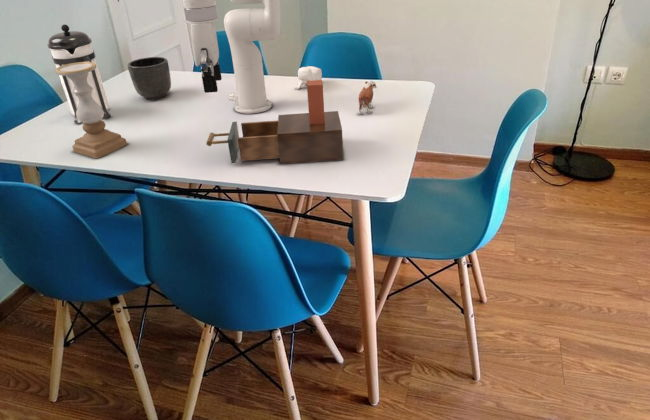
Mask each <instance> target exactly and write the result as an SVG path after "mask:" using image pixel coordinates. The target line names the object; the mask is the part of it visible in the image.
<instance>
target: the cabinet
mask: <svg viewBox="0 0 650 420" xmlns="http://www.w3.org/2000/svg"><path fill="white" fill-rule="evenodd" d="M324 117H325V124H312V125H310V122H309V112H304V113H287V114H286V113H285V114H278V117H277V121H278V130H277V137H278V146H279V155H280V158H279V164H280V165H290V164H305V163H316V162H318V163H319V162H320V163H321V162H334V161H344V149H343V148H344V147H343V146H344V145H343V142H344V141H343V127H342V123H341V118H340V114H339V111H338V110H332V111H331V110H330V111H324Z"/></svg>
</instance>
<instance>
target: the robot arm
mask: <svg viewBox="0 0 650 420" xmlns="http://www.w3.org/2000/svg"><path fill="white" fill-rule="evenodd" d="M181 1H182V5H183V12H184V16H185V22H186V24H189V25H190V36H191V46H192V51H193V59H194V65H195V66H196V67H197V68H200V70H201V71H200V72H201V81H202V86H203V92H204V93H205V94H206V93H207V94H209V93H217V92H218V90H219V89H218V82H217V81H222V79H223V78H222V72H221V71H222V70H221V66H220V63H219V58H220V49H219V42H218V36H217V29H216V24H215V23H216V22H217V21H219V13H218V7H217V0H181ZM229 1H230V2H231V3H233V4H235V5H236V4H237V5H252V4H253V5H254V4H255V5H256V4H263V5H264V7H254V8H253V7H249V8H248V7H246V8H244V7H243V8H235V9H230V10H229V11H228V12H226V13H225V15H224V18H223V26H224V30H225V31H224V32H225V34H226V38H227V41H228V44H229V48H230V53H231V59H232V61H231V62H232V67H233V73H234V81H235V86H236V93H233V92H231V93H229V95H228V100H229V102H235V104H234V111H235V112H238V113H240V114H245V115H246V114H247V115H249V114H259V113H264V112H266V111H268V110H270V109H271V108H272V107H273V106H272V105H273V104H272V101H271V99H268V98H267V92H266V82H265V73H264V65H263V56H262V53H261V50H260V48H259V47H258V46H257V45H256V44H255V43H254V42H262V41H265V42H266V41H275V40H277V39H279V38H280V36H281V31H282V22H281V21H282V19H281V4H280V3H281V2H280V0H229Z"/></svg>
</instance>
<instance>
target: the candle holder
mask: <svg viewBox="0 0 650 420" xmlns="http://www.w3.org/2000/svg"><path fill="white" fill-rule="evenodd" d="M95 68H96V64H95V63H93V62H77V63H71V64H66V65H63V66H60V67H58V68H55V71H54V72H55V74H56V75H58V76H59V75H62V76H67V77H68V78H69V79H70V80H72V82H73V83H74V89H73V93H74V94H75V95H76V96H77V97H78V98H79V104H78V107H77V111H76V117H77V119H78V120H79V121H81V123H83V125H82V130H83V132H85V133H84V134H83V135H82V136H81V137H79V138H77V139H75V140H74V144H72V149H73V152H74V153H77V154H79V155H83V156H86V157H90V158H93V159H100V158H101V157H104V156H106V155H108V154H111V153H113V152H115V151H117V150H119V149H122V148H123V147H125V146H127V145H128V141H127V139H126V138H124V137H123V136H122V135H121V134H119V133H118V132H114V131H111V130H110V129H106V123H105V121H103V120H102V119H103V118H104V111H103V109H102V107H101V106H100V105H98V104H97V103H96V102H95V101H94V100H93V99H92V97H91V93H92V90H93V88H92V87H91V86H90V85H89V84H88V82H87V76H88V72H90V71H93V70H94V69H95Z"/></svg>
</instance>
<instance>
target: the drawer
mask: <svg viewBox="0 0 650 420" xmlns="http://www.w3.org/2000/svg"><path fill="white" fill-rule="evenodd" d="M240 127H241V134H242V136H241V137H240V134H239V129H238V122H237V121H232V122H231V126H230V129H229V132H224V133H223V132H222V133H221V132H220V133H214V132H213V131H212V132H210V133H209V135H208V137H207V139H206V142H205V143H206V145H207V146H208V147H211V146H212V145H219V144H220V145H221V144H227V145H228V153H229V158H230V164H237V160H238V156H239V157H240V161H243V162H244V161H255V160H257V161H258V160H271V159H280V155H279V146H278V137H277V130H278V120H267V121H266V120H265V121H264V120H263V121H250V122H248V121H247V122H241V123H240ZM216 137H227V140H215V138H216Z"/></svg>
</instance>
